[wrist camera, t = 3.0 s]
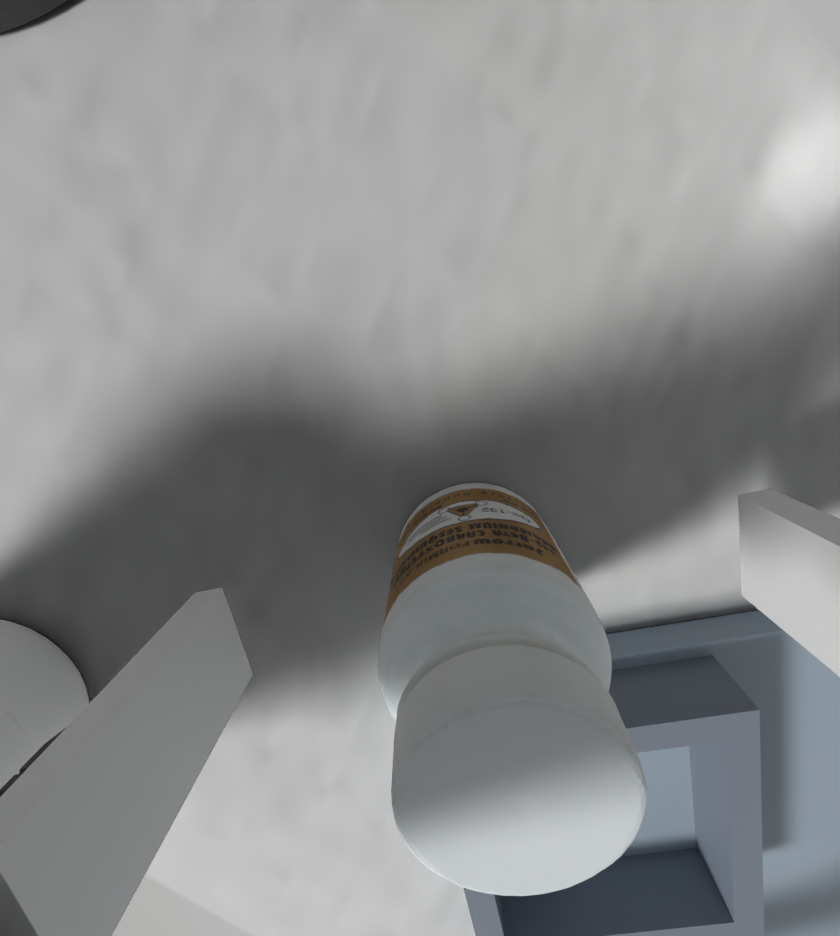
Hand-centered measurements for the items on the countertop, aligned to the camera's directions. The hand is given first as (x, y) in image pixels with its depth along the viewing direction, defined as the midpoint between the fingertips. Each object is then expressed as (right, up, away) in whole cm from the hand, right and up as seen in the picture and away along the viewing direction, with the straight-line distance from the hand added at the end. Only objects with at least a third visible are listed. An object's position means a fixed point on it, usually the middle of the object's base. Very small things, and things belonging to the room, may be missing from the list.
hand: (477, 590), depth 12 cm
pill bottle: (0, +1, +2) cm, 2 cm away
